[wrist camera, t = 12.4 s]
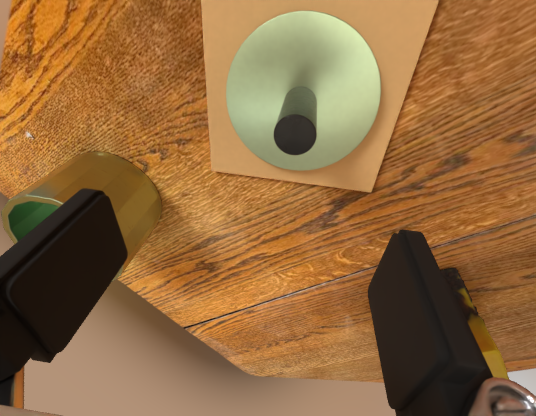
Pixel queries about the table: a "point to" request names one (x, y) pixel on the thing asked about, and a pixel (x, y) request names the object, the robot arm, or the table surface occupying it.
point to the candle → (476, 324)
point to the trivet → (375, 34)
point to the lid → (303, 90)
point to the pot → (98, 178)
